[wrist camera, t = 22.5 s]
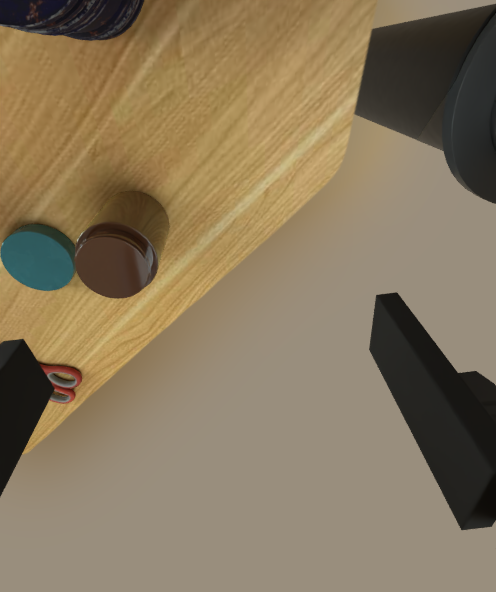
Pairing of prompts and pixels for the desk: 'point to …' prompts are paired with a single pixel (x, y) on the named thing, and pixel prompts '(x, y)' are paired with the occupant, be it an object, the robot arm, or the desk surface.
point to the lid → (39, 257)
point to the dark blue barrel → (71, 17)
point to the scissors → (62, 382)
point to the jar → (122, 245)
